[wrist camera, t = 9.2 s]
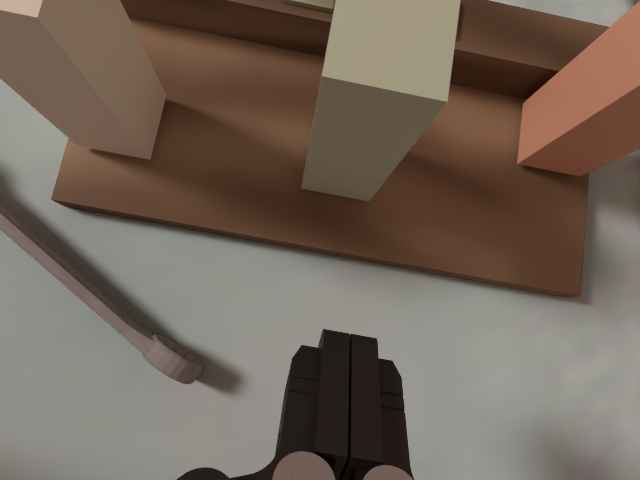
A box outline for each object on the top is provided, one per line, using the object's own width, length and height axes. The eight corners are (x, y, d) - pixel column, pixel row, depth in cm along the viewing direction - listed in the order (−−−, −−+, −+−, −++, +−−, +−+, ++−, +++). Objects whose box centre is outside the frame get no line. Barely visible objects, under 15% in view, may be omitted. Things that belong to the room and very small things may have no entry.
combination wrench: (200, 373, 20) (-144, 73, 20) (179, 397, 20) (-169, 93, 20) (210, 364, 24) (-82, 109, 24) (192, 384, 24) (-102, 127, 24)
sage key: (368, 201, 24) (447, 102, 13) (300, 188, 23) (321, 76, 12) (378, 137, 24) (461, -10, 13) (312, 123, 24) (342, -37, 13)
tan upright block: (150, 159, 23) (37, 17, 12) (78, 146, 23) (-103, -12, 12) (166, 94, 23) (72, -96, 13) (96, 80, 23) (-60, -126, 12)
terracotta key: (579, 176, 25) (813, 66, 14) (517, 163, 25) (705, 42, 14) (584, 115, 25) (810, -34, 15) (523, 103, 25) (707, -59, 14)
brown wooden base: (566, 296, 25) (627, 292, 21) (62, 205, 24) (13, 179, 19) (582, 75, 28) (640, 29, 23) (125, -22, 26) (94, -92, 22)
